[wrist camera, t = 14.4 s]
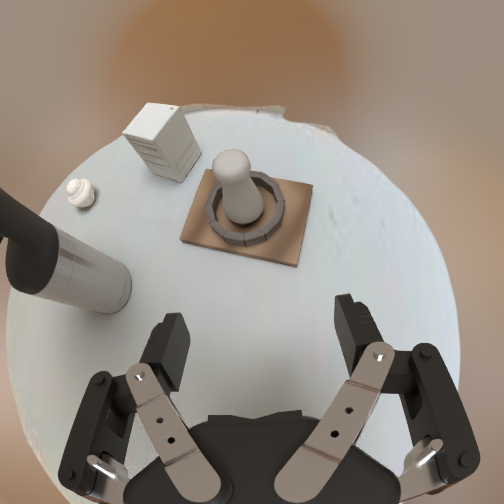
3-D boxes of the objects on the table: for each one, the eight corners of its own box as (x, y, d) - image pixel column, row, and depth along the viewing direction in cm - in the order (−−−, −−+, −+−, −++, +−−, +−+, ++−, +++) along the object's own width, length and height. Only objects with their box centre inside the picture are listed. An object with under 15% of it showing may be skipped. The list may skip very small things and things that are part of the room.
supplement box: (172, 145, 49) (148, 100, 37) (202, 153, 47) (181, 105, 35) (151, 174, 47) (120, 132, 35) (181, 184, 46) (152, 140, 34)
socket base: (182, 242, 42) (173, 233, 38) (208, 173, 46) (201, 160, 42) (296, 266, 39) (297, 259, 35) (312, 189, 42) (314, 176, 38)
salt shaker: (251, 236, 39) (235, 190, 27) (219, 219, 41) (193, 170, 28) (272, 205, 40) (265, 151, 28) (241, 189, 42) (223, 134, 30)
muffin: (81, 218, 47) (60, 204, 40) (77, 198, 49) (58, 183, 42) (102, 201, 47) (82, 184, 41) (97, 181, 49) (79, 164, 43)
